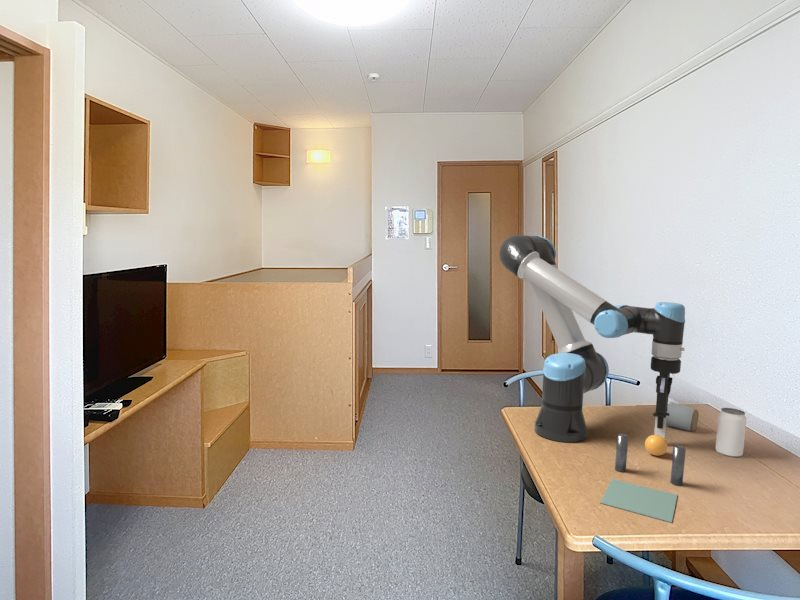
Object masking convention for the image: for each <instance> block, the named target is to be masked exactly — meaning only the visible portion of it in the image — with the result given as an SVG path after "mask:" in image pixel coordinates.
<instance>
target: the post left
mask: <svg viewBox="0 0 800 600" xmlns="http://www.w3.org/2000/svg"><path fill="white" fill-rule="evenodd" d="M629 438H630V437H629V435H627V434H624V433H617V436H616V449H615V460H614V461H615V462H614V470H615V471H616V472H619V473H626V471H627V461H628V450H629V449H628V448H629Z"/></svg>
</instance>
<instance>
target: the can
mask: <svg viewBox="0 0 800 600" xmlns="http://www.w3.org/2000/svg"><path fill="white" fill-rule="evenodd" d="M720 410H721V411H720V412H719V413H718V419H717V429H716V439H715V451H716V452H717V453H718V454H721V455H723V456H726V457H731V458H741V457H742V456H743V454H744V447H745V439H746V426H747V417H746V412H745V411H744V410H741V409H737V408H734V407H733V408H732V407H722V408H721V409H720Z"/></svg>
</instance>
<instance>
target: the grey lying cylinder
mask: <svg viewBox="0 0 800 600" xmlns="http://www.w3.org/2000/svg"><path fill="white" fill-rule="evenodd" d="M667 409H668V410H667V413H669V416H667V418H666V427H672V428H675V429H678V430H679V429H680V430H683V431H689V432H693V431H695V430H696V428H697V426H698V422H699V411H698V410H697V409H696V408H693V407H692V406H688V405H684V404H680V403H677V402H673V401H669V402H668V406H667Z"/></svg>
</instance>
